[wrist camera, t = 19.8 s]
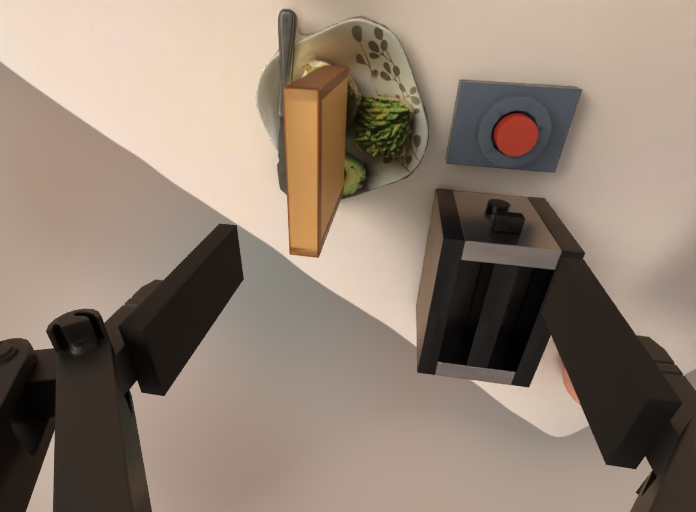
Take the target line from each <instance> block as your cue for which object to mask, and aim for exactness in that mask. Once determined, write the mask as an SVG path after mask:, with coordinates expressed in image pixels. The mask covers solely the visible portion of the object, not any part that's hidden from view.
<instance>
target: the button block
mask: <svg viewBox="0 0 696 512" xmlns="http://www.w3.org/2000/svg"><path fill="white" fill-rule="evenodd" d="M581 91H582V89H580V88H577V87H572V86H556V85H540V84H524V83H508V82H492V81H476V80H459V85H458V91H457V97H456V103H455V108H454V114H453V120H452V125H451V131H450V137H449V143H448V148H447V154H446V162H447V164H458V165H470V166H482V167H494V168H506V169H519V170H531V171H543V172H555V170H556V167H557V164H558V161H559V158H560V155H561V152H562V149H563V146H564V143H565V140H566V137H567V134H568V131H569V128H570V125H571V122H572V119H573V116H574V113H575V110H576V107H577V104H578V101H579V98H580V94H581ZM513 113H521V114H524V115H526V116H528V117H529V118H530V119H531V120H532V121H533V122H534V123H535V124H536V126H537V128H538V139H537V141H536V143H535V145H534V146H533V148H532V149H531V150H529V151H528V152H527V153H525V154H523V155H520V156H508V155H506V154H504V153H502V152H501V151H500V149H499V148H498V146H497V145H496V143H495V141H494V130H495V127H496V125H497V124H498V122H499V121H500V120H501V119H502V118H504V117H505V116H507V115H510V114H513Z"/></svg>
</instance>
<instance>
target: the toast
mask: <svg viewBox="0 0 696 512" xmlns="http://www.w3.org/2000/svg"><path fill="white" fill-rule="evenodd" d="M348 71H349V68H348V67H345V66H329V65H324V66H322V67H320V68H318V69H316V70H315V71H313V72H311V73H309V74H307V75H305V76H304V77H302V78H300V79H298V80H296V81H294V82H293V83H291V84H289V85H287V86H285V87H283V110H284V133H285V156H286V180H287V203H288V226H289V250H290V255H299V256H308V257H317V258H318V257H319V255H320V253H321V250H322V247H323V245H324V242H325V240H326V237H327V234H328V232H329V229H330V226H331V224H332V221H333V219H334V216H335V213H336V211H337V208H338V206H339V203H340V200H341V198H342V195H343V193H344V163H345V137H346V110H347V84H348Z"/></svg>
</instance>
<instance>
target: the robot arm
mask: <svg viewBox="0 0 696 512" xmlns="http://www.w3.org/2000/svg"><path fill="white" fill-rule="evenodd" d="M243 279H244V278H243V271H242V264H241V256H240V248H239V240H238V232H237V225H227V224H219V225H218V226H217V227H216V228H215V229H214V230H213V231H212V232H211V233H210V234H209V235H208V236H207V237H206V238H205V239H204V240H203V241H202V242H201V243H200V244H199V245H198V246H197V247H196V248H195V249H194V250H193V251H192V252H191V253H190V254H189V255H188V256H187V257H186V258H185V259H184V260H183V261H182V262H181V263H180V264H179V265H178V266H177V267H176V268H175V269H174V270H173V271H172V272H171V273H170V274H169V276H168V277H166V278H165V279H164V280H154V281H152V282H151V283H149V284H147V285H145V286H143V287H141V288H140V289H139V290H138V291H137V292H136V293H135V294H134V295H133V296H132V298H130V299H129V300H128V301H127V302H126V303H125V305H124V306H122V307H121V308H120V309H118V311H116V312H115V313H114V314H113V315H112V316H111V317H110V318H109V319H108V320H107V321H106V322H105V323H104V322H103V319H102V317H101V315H100V313H99V312H98V311H96V310H94V309H79V310H74V311H71V312H68V313H66V314H63V315H62V316H60V317H58V318H56V319H55V320H54V321H53V322H51V323H50V325H48V328H47V330H46V332H47V334H48V337H49V339H50V341H51V343H52V345H53V347H54V348H52V349H43V350H33V348H32V346H31V344H30V343H29V341H28V340H26V339H22V338H13V339H8V340H4V341H0V512H26V509H27V507H28V504H29V501H30V498H31V495H32V492H33V490H34V487H35V484H36V481H37V478H38V475H39V472H40V470H41V467H42V464H43V461H44V458H45V455H46V453H47V450H48V447H49V444H50V441H51V438H52V435H53V433H54V430H55V449H54V493H53V495H54V496H53V512H152V510H151V504H150V498H149V492H148V486H147V481H146V476H145V469H144V463H143V458H142V452H141V446H140V440H139V434H138V429H137V424H136V417H135V411H134V406H133V401H132V395H131V393H130V388H131V387H132V386H133V384H134V383H135V382H136V381H138V383H139V386H140V389H141V392H142V393H147V394H155V395H161V396H165V394H166V393H167V391H168V390H169V388H170V387H171V385H172V384H173V382H174V381H175V379H176V378H177V376H178V375H179V373H180V372H181V371H182V369H183V368H184V366H185V365H186V363H187V362H188V360H189V359H190V357H191V356H192V354H193V353H194V351H195V350H196V348H197V347H198V346H199V344H200V343H201V341H202V340H203V338H204V337H205V335H206V334H207V332H208V331H209V329H210V328H211V326H212V325H213V323H214V322H215V321H216V319H217V318H218V316H219V314H220V313H221V312H222V310H223V309H224V307H225V306H226V304H227V303H228V301H229V300H230V298H231V297H232V295H233V294H234V292H235V291H236V289H237V288H238V287H239V285H240V284H241V282H242V281H243ZM542 315H543V317H544V319H545V322H546V324H547V326H548V329H549V331H550V333H551V336H552V338H553V341H554V343H555V345H556V348H557V350H558V352H559V355H560V357H561V359H562V362H563V364H564V366H565V369H566V371H567V374H568V376H569V378H570V381H571V383H572V385H573V388H574V390H575V392H576V395H577V397H578V400H579V402H580V404H581V407H582V409H583V411H584V414H585V416H586V418H587V421H588V423H589V425H590V428H591V430H592V433H593V435H594V437H595V440H596V442H597V444H598V446H599V449H600V451H601V454H602V456H603V458H604V461H605V463H606V465H612V466H619V467H625V468H631V469H636V468H637V467H638V465H639V464H640V462H641V461H642V460H643V458H644V457H645V456H646V458H647V460H648V462H649V464H650V465H651V468H652V469H653V470H652V472H651V473H650V474H649V476H648V477H647V478H646V480H645V481H644V482H643V484H642V485H641V486H640V488H639V489H638V490H637V492H636V493H637V494H638V497H637V499H636V501H635V503H634V505H633V507H632V509H631V511H630V512H696V391H695V389H694V388H693V387H692V385H691V384H690V383H689V381H688V380H687V379H686V377H685V376H683V375H682V374H683V373H682V372H681V371H680V369H679V368H678V367H677V365H674V361H673V360H672V359H671V357H670V356H669V355H668V353H667V352H666V351H665V349H663V348H662V347H661V346H660V345H658V344H657V343H656V342H655V341H653V340H652V339H651V338H649V337H645V336H637V335H635V333H634V332H633V330H632V329H631V327H630V326H629V324H628V323H627V322H626V320H625V319H624V317H623V316H622V314H621V313H620V312H619V310H618V309H617V307H616V306H615V304H614V303H613V301H612V300H611V299H610V297H609V296H608V294H607V293H606V291H605V290H604V288H603V287H602V286H601V284H600V283H599V281H598V280H597V278H596V277H595V275H594V274H593V273H592V271H591V270H590V268H589V267H588V265H587V264H586V263H585V261H584V260H582V259H572V258H562V260H561V263H560V266H559V268H558V271H557V274H556V277H555V279H554V282H553V285H552V287H551V290H550V293H549V296H548V298H547V301H546V304H545V307H544V309H543V312H542Z"/></svg>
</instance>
